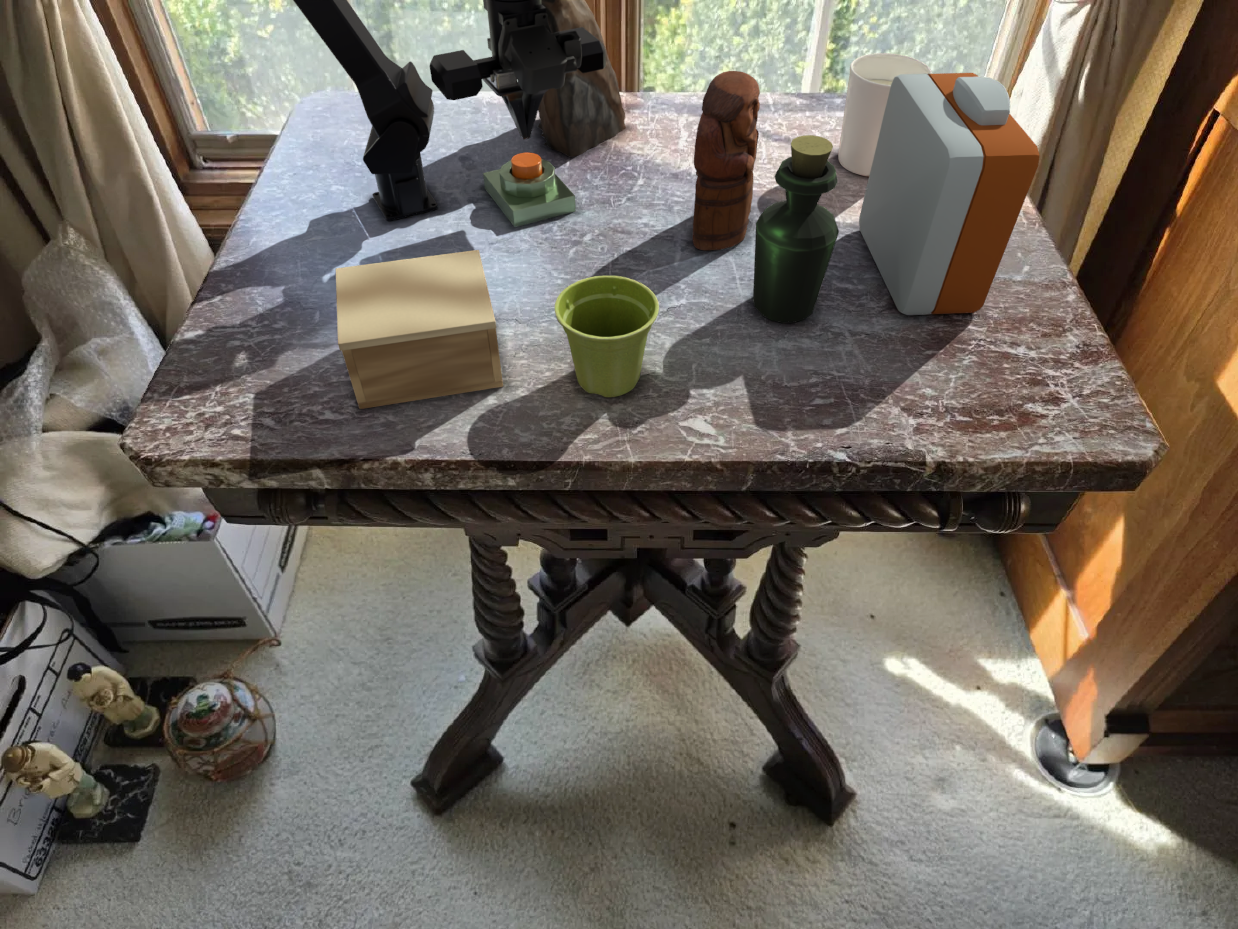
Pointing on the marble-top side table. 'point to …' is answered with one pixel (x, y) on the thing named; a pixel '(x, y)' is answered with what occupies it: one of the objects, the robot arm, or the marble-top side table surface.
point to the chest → (424, 368)
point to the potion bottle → (796, 234)
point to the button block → (529, 194)
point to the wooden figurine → (725, 161)
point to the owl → (580, 91)
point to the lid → (412, 300)
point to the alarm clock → (945, 190)
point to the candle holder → (869, 105)
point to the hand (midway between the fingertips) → (525, 137)
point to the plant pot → (607, 331)
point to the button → (526, 165)
